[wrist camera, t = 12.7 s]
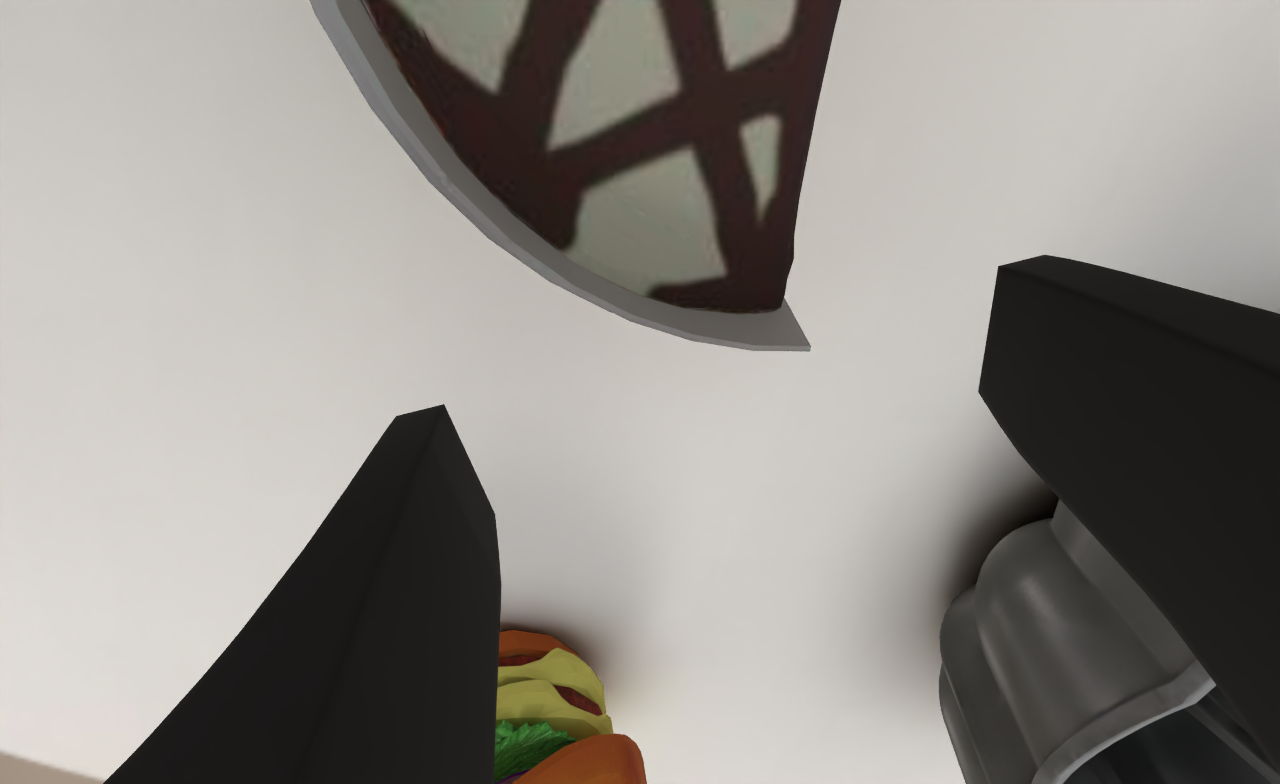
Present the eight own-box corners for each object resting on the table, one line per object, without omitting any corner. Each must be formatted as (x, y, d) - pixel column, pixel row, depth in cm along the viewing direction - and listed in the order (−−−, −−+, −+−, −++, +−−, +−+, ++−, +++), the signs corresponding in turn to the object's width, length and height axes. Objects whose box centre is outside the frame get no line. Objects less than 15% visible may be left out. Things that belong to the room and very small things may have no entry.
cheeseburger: (377, 598, 25) (423, 904, 18) (623, 578, 31) (728, 804, 24) (332, 745, 30) (354, 1031, 23) (552, 704, 36) (622, 922, 29)
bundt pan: (919, 756, 42) (1018, 958, 34) (812, 500, 26) (949, 765, 18) (1357, 591, 39) (1579, 771, 31) (1534, 189, 23) (2081, 345, 15)
